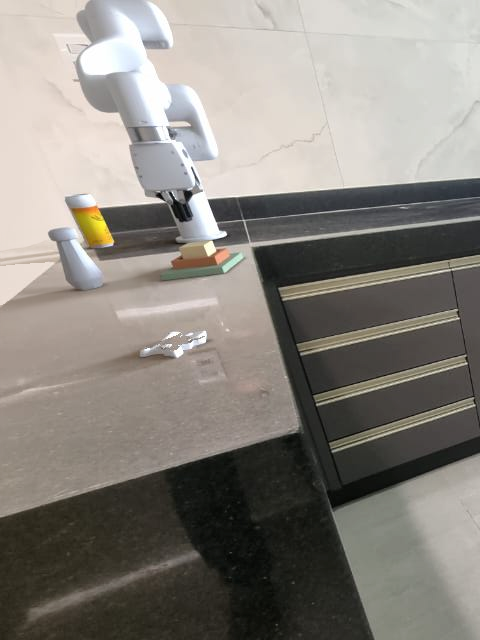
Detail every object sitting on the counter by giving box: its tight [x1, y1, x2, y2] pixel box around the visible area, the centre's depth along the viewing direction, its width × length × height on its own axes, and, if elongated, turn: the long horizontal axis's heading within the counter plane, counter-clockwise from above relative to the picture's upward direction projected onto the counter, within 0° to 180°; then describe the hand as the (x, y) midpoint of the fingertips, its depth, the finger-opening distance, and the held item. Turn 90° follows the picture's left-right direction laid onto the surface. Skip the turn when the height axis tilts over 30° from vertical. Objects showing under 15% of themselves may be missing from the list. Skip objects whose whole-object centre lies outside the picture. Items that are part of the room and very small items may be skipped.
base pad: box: [159, 247, 244, 282], centre depth 128 cm, size 16×12×4 cm
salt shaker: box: [47, 226, 104, 291], centre depth 114 cm, size 6×6×13 cm
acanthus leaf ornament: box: [139, 330, 207, 359], centre depth 82 cm, size 8×7×2 cm
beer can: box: [64, 193, 115, 249], centre depth 156 cm, size 6×6×15 cm
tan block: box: [178, 240, 217, 259], centre depth 127 cm, size 6×5×4 cm
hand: (186, 221), depth 123 cm, fingers closed
